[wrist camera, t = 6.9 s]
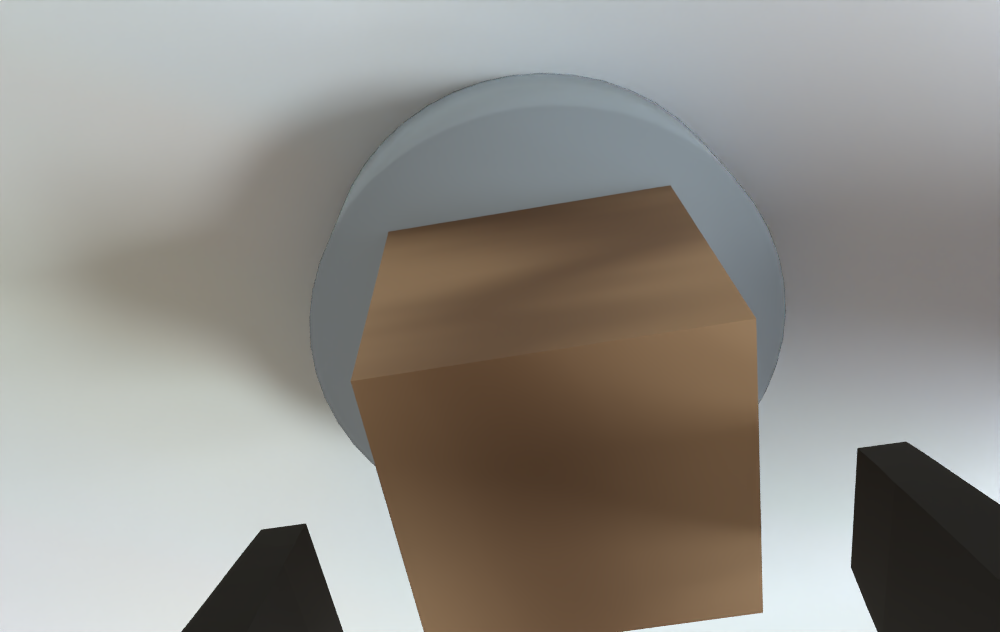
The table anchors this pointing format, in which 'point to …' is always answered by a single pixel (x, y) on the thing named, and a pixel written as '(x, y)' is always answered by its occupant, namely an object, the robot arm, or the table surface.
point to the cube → (566, 419)
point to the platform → (528, 199)
